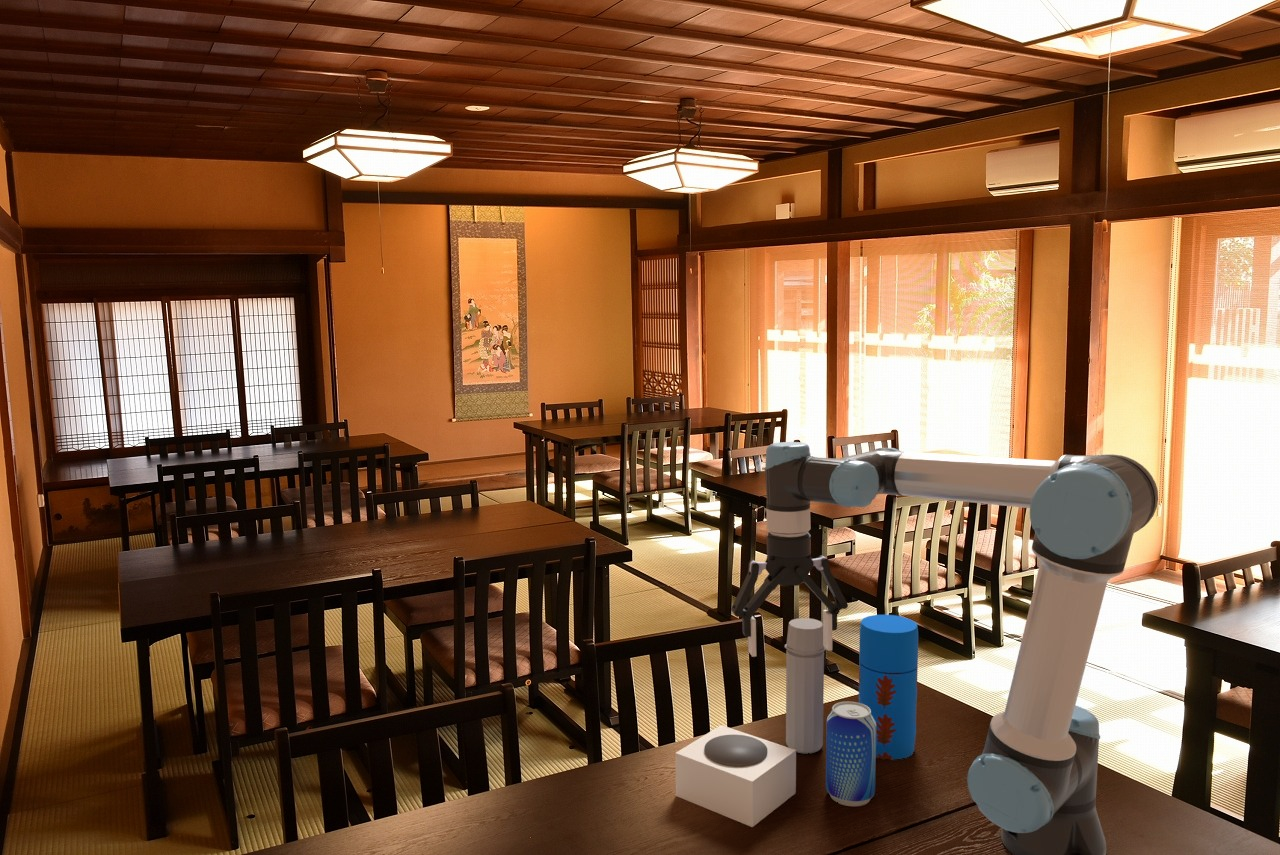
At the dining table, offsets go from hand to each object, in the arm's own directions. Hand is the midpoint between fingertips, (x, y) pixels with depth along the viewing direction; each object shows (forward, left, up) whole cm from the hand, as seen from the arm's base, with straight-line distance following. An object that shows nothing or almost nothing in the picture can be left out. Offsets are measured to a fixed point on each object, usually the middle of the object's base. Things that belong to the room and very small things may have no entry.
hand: (790, 651), depth 161 cm
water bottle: (+6, -16, -26) cm, 31 cm away
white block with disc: (+6, +8, -26) cm, 27 cm away
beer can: (-10, -4, -26) cm, 28 cm away
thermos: (-7, -25, -26) cm, 37 cm away
